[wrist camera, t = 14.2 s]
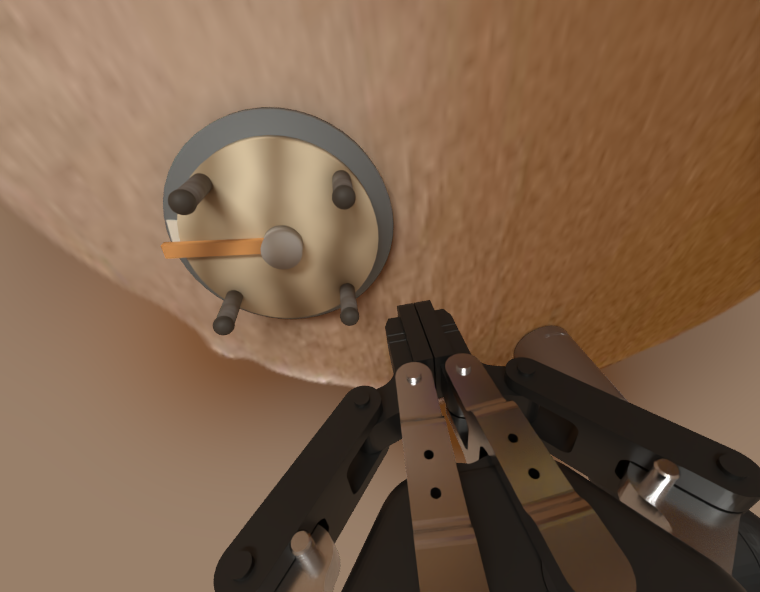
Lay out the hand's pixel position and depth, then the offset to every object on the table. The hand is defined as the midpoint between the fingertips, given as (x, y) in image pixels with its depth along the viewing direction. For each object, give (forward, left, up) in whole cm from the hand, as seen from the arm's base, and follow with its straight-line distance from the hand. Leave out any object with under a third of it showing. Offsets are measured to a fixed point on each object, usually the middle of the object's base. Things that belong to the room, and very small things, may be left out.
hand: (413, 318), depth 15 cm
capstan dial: (-7, +9, -23) cm, 26 cm away
